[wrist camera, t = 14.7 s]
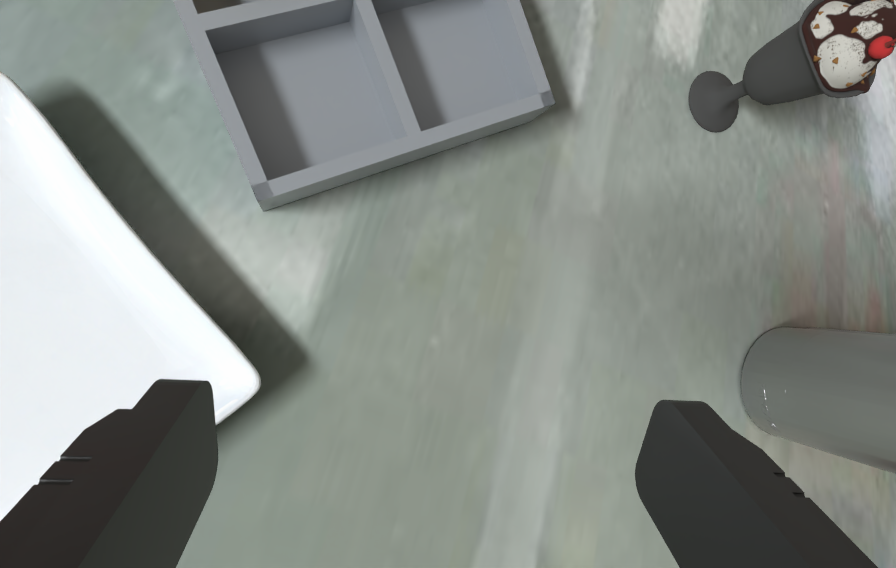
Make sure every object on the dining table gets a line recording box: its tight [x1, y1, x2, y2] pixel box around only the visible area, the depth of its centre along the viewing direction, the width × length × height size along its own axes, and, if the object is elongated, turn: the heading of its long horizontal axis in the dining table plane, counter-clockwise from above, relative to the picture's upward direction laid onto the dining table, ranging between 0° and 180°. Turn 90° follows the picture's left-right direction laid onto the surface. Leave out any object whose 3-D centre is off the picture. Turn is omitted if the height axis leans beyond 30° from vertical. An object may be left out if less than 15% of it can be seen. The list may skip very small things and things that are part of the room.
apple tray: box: [173, 0, 555, 211], centre depth 30 cm, size 20×20×4 cm
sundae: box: [689, 0, 896, 132], centre depth 33 cm, size 7×7×15 cm
